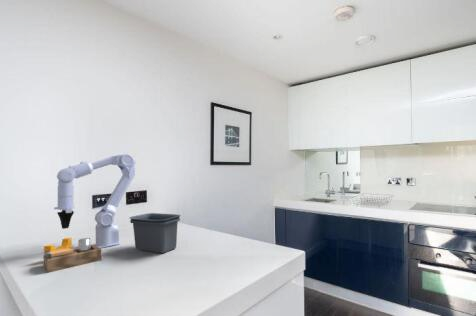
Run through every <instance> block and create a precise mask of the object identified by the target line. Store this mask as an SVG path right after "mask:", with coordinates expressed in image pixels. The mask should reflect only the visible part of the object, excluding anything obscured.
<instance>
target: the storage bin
mask: <svg viewBox="0 0 476 316" xmlns="http://www.w3.org/2000/svg"><path fill="white" fill-rule="evenodd" d="M180 221H181V214H176V213H175V214H173V213H157V212H156V213H155V212H152V213H151V212H149V213H144V214H139V215H133V216H129V223H130V224H132V227H133V236H134V246H135V249H136V250H139V251H145V252H146V251H147V252H153V253H158V254H164V253H167V252H170V251H171V250H174V249H176V248H177V238H178V236H177V235H178V222H180Z"/></svg>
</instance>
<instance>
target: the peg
mask: <svg viewBox="0 0 476 316" xmlns="http://www.w3.org/2000/svg"><path fill="white" fill-rule="evenodd" d="M77 242H78V243H77V244H78V245H77V246H78V247H77V248H78V253H80V252H85V251H90V245H91V238H90V237H84V238H79V239H78V241H77Z"/></svg>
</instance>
